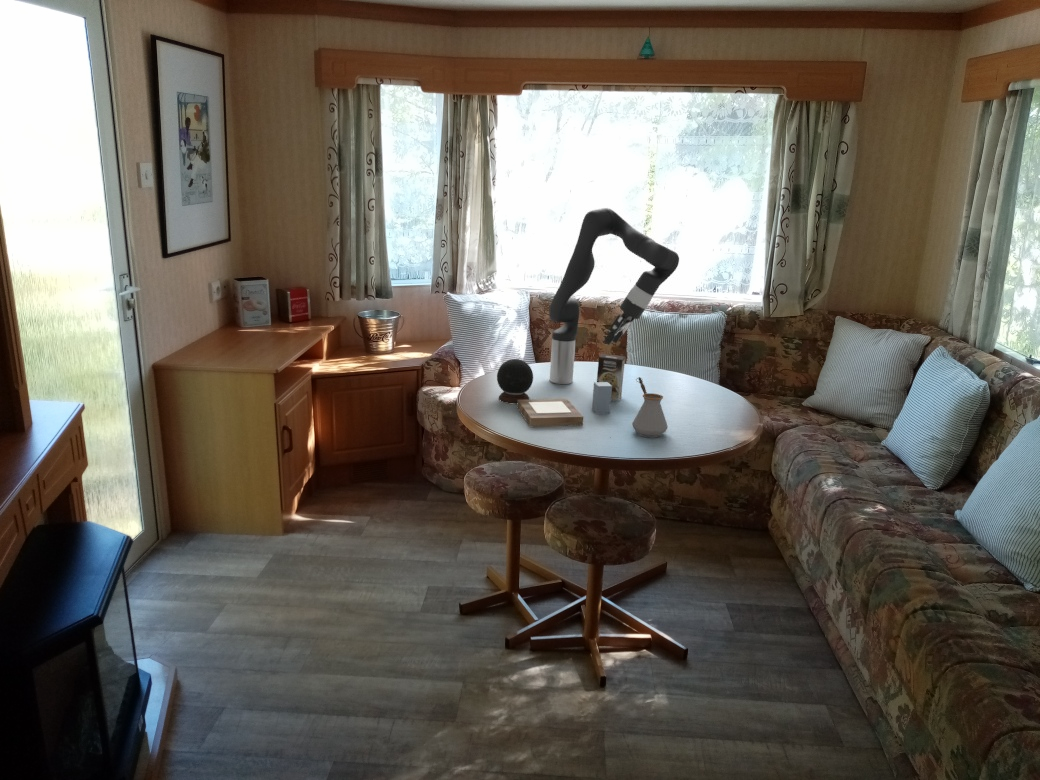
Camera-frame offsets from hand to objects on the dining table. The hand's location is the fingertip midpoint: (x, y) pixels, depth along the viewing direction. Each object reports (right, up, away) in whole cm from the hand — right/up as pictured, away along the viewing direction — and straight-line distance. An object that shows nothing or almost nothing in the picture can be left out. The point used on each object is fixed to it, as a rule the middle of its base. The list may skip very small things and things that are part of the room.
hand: (610, 342), depth 261 cm
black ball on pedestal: (-33, -20, +22) cm, 44 cm away
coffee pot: (+11, -29, -2) cm, 31 cm away
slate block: (-2, -24, +13) cm, 27 cm away
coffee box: (+3, -19, +29) cm, 35 cm away
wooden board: (-20, -25, +5) cm, 33 cm away
